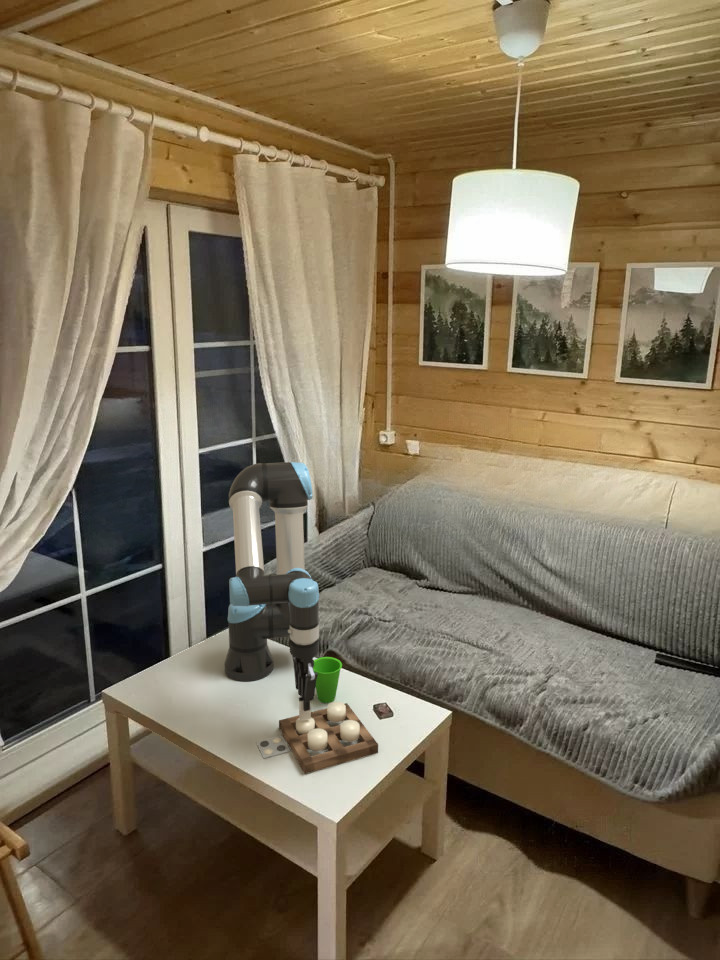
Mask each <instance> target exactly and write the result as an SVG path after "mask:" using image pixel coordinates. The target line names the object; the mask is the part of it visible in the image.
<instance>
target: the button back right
mask: <svg viewBox="0 0 720 960" xmlns="http://www.w3.org/2000/svg"><path fill="white" fill-rule="evenodd" d="M312 729H315V721H314V719H313V718H311V719H308V720H304V721H301V720H300V718H298V719H297V720H296V730H295V731H296V733H297V734H298V736H300V735H304V734H308V732H309V731H310V730H312Z"/></svg>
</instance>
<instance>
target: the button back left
mask: <svg viewBox="0 0 720 960" xmlns="http://www.w3.org/2000/svg"><path fill="white" fill-rule="evenodd" d="M326 708H327V718H328V720H329V721H328V722H331V723H342V722H343V721H344V720H345V718H346V706H345V703H343V702H340V701H333V702H331V703H328V704H327V707H326Z"/></svg>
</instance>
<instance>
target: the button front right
mask: <svg viewBox="0 0 720 960" xmlns="http://www.w3.org/2000/svg"><path fill="white" fill-rule="evenodd" d="M326 747H327V732H326V731H325V730H323V729H319V728H316V729H312V730H310V731H309V732H308V748H309V749H308V750H311V751H313V752H320V751H324V750H325V749H326Z"/></svg>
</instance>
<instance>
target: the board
mask: <svg viewBox="0 0 720 960" xmlns="http://www.w3.org/2000/svg"><path fill="white" fill-rule="evenodd" d="M344 704H345V706H346V718H345V720H343V721H346V720H354V721H357V722H358V723H359V725H360V736H359V739H358V740H357V741H358V742H356V743H354V744H351V745H347V746H344V745H343V743H341V742H342V741H343V740H342V739H341V737H340V725H341V724H338V725H335V726H330V725H329V723H328V722H330V721H329V720H328V718H327V707H326V708H322V709H319V710H314V711H311V718H313V719H314V721H315V729H316V728H319V729H323V730H325V731H326V732H327V747H326V748H325V749H326V750H327V751H326V752H322V753H319V754H315V755H312V756H311V754H310V753H309V751H308V750H310V749H309V748H308V734H304V735H300V736H298V734H297V733H296V720H297V719H298V718H299V714H297V715H295V716H291V717H286V718H284V719H283V718H282V719H279V720H278V729H279V731H280V732H281V734H282V737H283V739H284V741H285V742H286V744H287V746H289V747H288V748H289V750H290V751H291V752H292V755H294V758H295V759H296V761H297V762H298V765H299V766H300V768H301V770H302V771H303V774H304V775H307V774H309V773H313V772H317V771H320V770H325V769H327V768H331V767H333V766H338V765H341V764H344V763H347V762H352V761H355V760H358V759H361V758H365V757H369V756H371V755H375V754H378V753H379V743H378V742H377V741H376V740H375V738H374V737H373V735H372V733H370V731H369V730H368V729H367V728H366V727H365V725H364V723H362V720H360V719H359V717H358V716H357V714H356V713H355V712H354V711H353V709H352V708H351V706H350V705H349V704H348V702H346V703H344Z"/></svg>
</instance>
